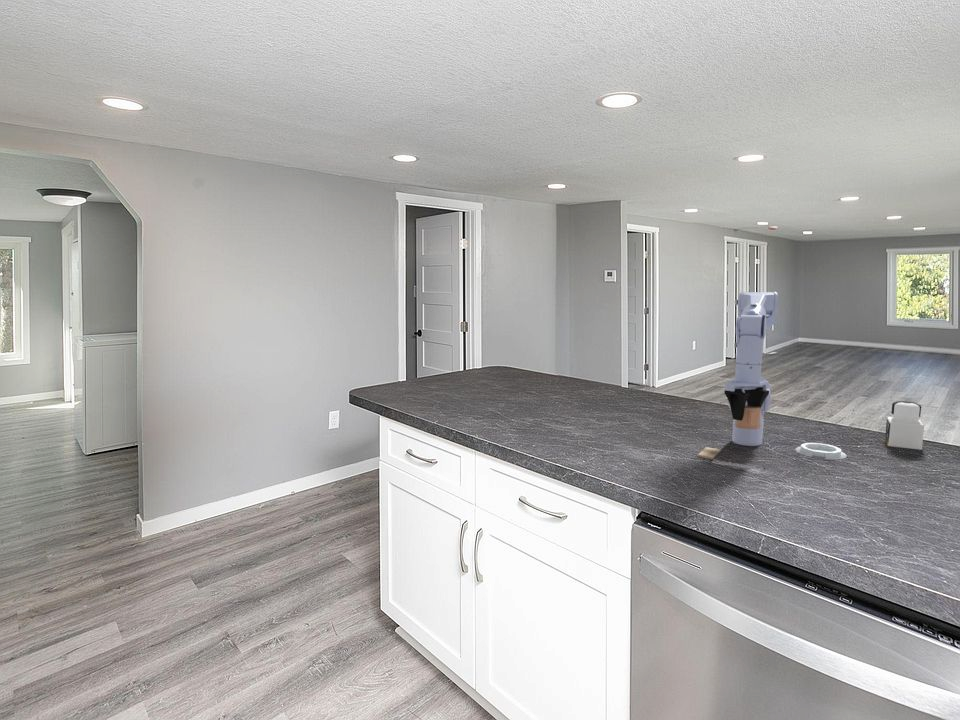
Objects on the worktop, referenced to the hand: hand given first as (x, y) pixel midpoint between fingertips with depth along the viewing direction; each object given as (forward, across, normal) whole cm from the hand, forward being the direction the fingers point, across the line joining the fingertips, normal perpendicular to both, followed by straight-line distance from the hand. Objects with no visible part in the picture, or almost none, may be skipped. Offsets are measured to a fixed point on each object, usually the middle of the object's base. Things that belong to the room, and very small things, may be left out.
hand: (745, 418), depth 140 cm
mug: (+2, +1, +2) cm, 3 cm away
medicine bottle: (+8, -43, +17) cm, 47 cm away
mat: (+10, +3, -4) cm, 11 cm away
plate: (+9, -18, +9) cm, 22 cm away
